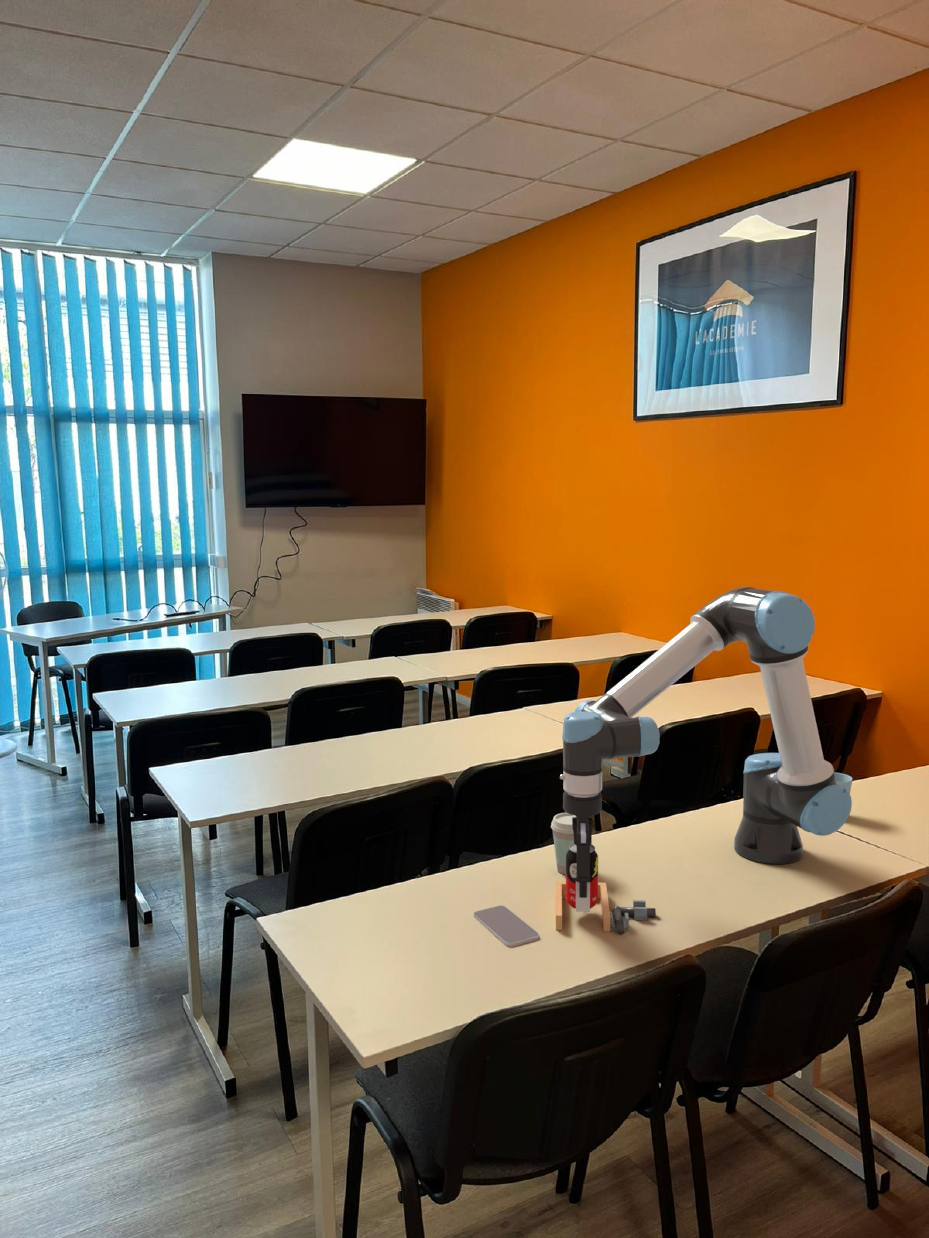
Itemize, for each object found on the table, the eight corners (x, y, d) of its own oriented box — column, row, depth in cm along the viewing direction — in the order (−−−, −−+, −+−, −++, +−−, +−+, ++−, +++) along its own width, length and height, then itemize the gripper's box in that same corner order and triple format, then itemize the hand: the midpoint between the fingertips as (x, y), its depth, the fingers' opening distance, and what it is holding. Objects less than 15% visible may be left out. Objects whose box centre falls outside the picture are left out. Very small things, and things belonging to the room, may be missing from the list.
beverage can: (560, 901, 180) (560, 844, 178) (587, 895, 183) (587, 838, 181) (576, 914, 174) (576, 855, 173) (604, 908, 177) (604, 850, 175)
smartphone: (503, 904, 184) (541, 935, 170) (503, 908, 184) (541, 939, 171) (471, 912, 180) (507, 944, 167) (471, 916, 180) (507, 949, 167)
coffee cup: (588, 862, 204) (588, 811, 203) (590, 878, 196) (590, 825, 194) (551, 861, 205) (550, 811, 204) (550, 877, 197) (550, 825, 195)
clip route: (654, 911, 180) (654, 900, 180) (659, 935, 170) (660, 924, 170) (607, 910, 181) (607, 899, 181) (610, 934, 171) (610, 922, 171)
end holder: (605, 896, 187) (605, 882, 187) (610, 931, 172) (610, 917, 172) (555, 894, 188) (555, 881, 188) (555, 929, 173) (555, 915, 173)
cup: (835, 823, 225) (837, 783, 224) (811, 813, 232) (813, 775, 230) (857, 818, 228) (859, 778, 227) (832, 809, 235) (834, 770, 234)
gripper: (562, 775, 185) (563, 881, 188) (563, 808, 166) (563, 925, 169) (599, 775, 184) (599, 882, 188) (604, 809, 165) (603, 926, 169)
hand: (582, 902), depth 178 cm, fingers closed on beverage can, 6 cm apart
